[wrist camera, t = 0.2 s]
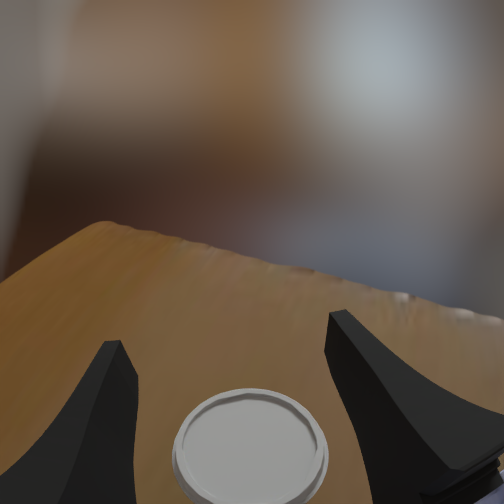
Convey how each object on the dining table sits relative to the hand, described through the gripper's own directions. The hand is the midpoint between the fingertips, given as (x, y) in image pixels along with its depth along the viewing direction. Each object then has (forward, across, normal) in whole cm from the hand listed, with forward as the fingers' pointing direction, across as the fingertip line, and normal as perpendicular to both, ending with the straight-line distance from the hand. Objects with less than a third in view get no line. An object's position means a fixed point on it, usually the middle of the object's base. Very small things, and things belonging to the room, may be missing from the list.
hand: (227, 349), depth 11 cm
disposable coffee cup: (0, 0, +22) cm, 22 cm away
